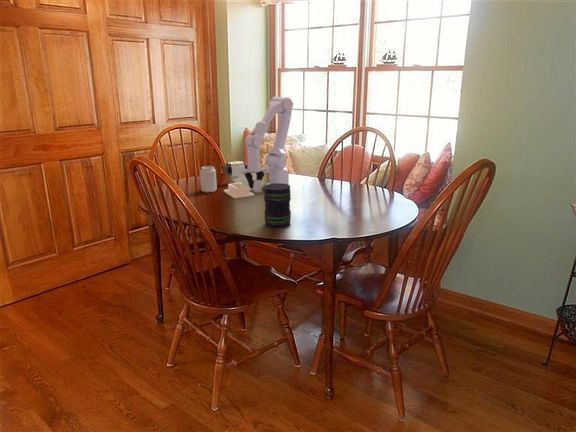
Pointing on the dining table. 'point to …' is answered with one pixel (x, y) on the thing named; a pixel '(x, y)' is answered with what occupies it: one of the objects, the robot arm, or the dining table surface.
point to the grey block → (255, 185)
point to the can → (208, 179)
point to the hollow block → (238, 190)
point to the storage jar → (277, 205)
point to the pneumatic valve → (234, 170)
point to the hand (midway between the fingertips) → (254, 187)
